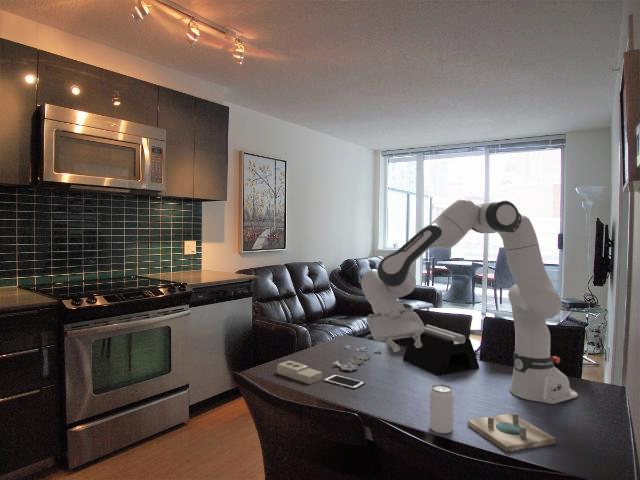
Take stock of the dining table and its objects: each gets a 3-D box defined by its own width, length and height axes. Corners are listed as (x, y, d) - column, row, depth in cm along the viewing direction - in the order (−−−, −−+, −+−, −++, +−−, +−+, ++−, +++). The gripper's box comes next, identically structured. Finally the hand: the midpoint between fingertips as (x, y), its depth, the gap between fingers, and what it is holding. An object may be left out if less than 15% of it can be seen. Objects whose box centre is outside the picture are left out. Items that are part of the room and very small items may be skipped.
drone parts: (305, 365, 181) (305, 358, 181) (343, 347, 211) (343, 341, 211) (353, 373, 169) (353, 365, 169) (386, 353, 198) (386, 346, 198)
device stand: (441, 354, 196) (442, 322, 196) (479, 369, 176) (479, 333, 175) (402, 360, 186) (403, 327, 186) (437, 376, 166) (438, 339, 166)
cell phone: (333, 376, 166) (333, 373, 166) (366, 384, 157) (366, 382, 157) (322, 381, 160) (322, 379, 160) (355, 390, 151) (355, 388, 151)
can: (428, 432, 119) (429, 390, 119) (430, 422, 125) (431, 382, 125) (452, 436, 117) (452, 393, 117) (453, 426, 123) (454, 385, 123)
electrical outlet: (309, 374, 156) (276, 364, 168) (309, 385, 156) (276, 374, 168) (322, 369, 161) (289, 359, 173) (322, 380, 161) (289, 369, 173)
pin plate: (511, 418, 129) (512, 405, 129) (555, 443, 113) (555, 429, 113) (467, 424, 124) (467, 411, 124) (506, 452, 109) (506, 437, 109)
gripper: (368, 309, 133) (388, 347, 125) (415, 304, 144) (436, 339, 136) (359, 320, 137) (378, 358, 129) (406, 315, 148) (426, 349, 139)
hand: (408, 348), depth 132 cm, fingers open, 8 cm apart
